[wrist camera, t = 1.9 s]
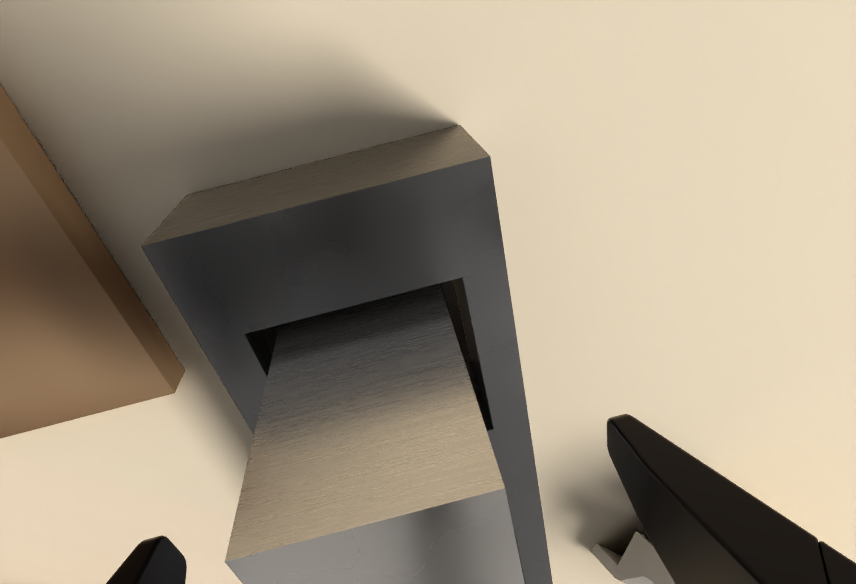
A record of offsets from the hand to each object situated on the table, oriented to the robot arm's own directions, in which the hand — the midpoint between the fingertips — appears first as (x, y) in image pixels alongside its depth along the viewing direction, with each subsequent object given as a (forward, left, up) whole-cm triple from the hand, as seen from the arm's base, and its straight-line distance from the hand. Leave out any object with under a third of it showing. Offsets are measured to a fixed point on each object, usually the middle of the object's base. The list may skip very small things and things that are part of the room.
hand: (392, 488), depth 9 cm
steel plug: (0, 0, -6) cm, 6 cm away
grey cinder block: (-5, 0, -6) cm, 8 cm away
